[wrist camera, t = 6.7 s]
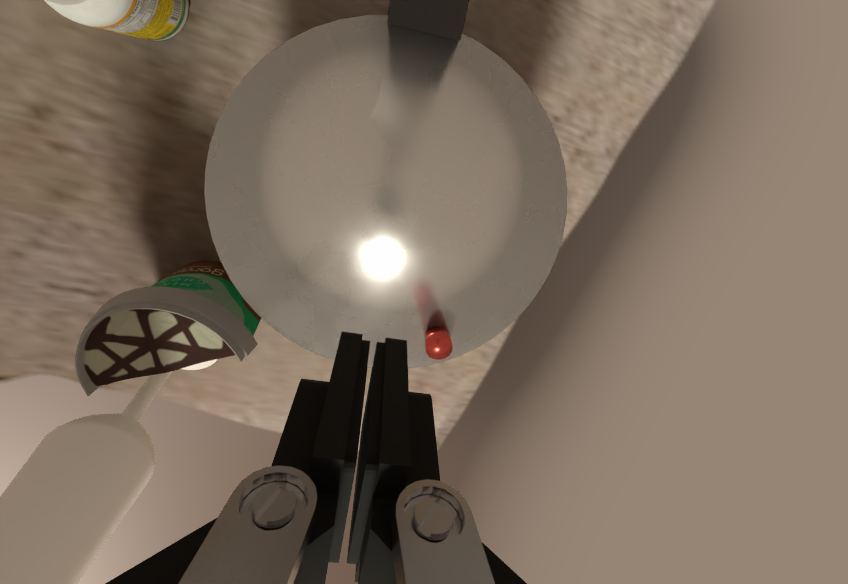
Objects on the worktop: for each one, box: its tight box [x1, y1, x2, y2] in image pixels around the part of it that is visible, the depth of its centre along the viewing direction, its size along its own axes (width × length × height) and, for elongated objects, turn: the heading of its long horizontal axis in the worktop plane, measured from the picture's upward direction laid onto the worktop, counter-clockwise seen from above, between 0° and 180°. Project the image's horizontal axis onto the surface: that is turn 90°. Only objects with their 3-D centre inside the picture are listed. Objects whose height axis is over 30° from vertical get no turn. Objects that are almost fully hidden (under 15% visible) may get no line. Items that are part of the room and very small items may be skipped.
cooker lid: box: [204, 0, 567, 368], centre depth 22 cm, size 22×19×2 cm
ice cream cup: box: [75, 261, 261, 396], centre depth 32 cm, size 12×6×10 cm, turn 103°
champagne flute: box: [0, 359, 217, 584], centre depth 28 cm, size 7×7×24 cm
